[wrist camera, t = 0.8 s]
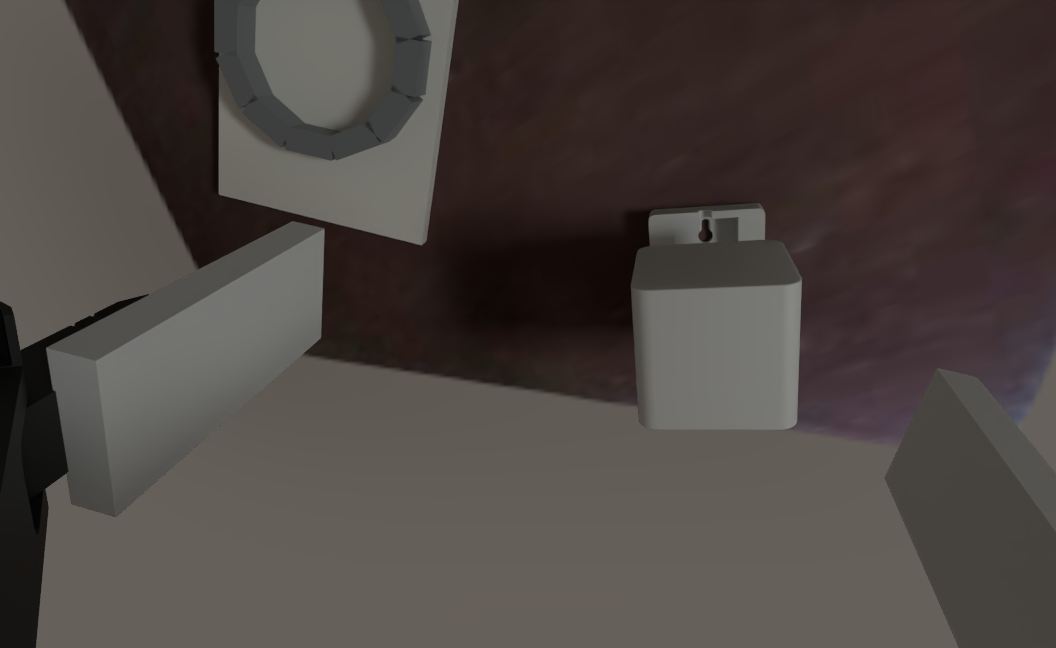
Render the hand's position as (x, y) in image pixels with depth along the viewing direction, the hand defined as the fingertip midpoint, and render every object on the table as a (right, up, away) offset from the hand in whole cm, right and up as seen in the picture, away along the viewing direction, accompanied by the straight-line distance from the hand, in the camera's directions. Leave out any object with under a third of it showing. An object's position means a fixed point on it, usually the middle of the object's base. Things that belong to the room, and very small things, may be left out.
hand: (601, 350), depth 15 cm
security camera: (+8, +3, +21) cm, 23 cm away
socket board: (-11, +15, +20) cm, 27 cm away
